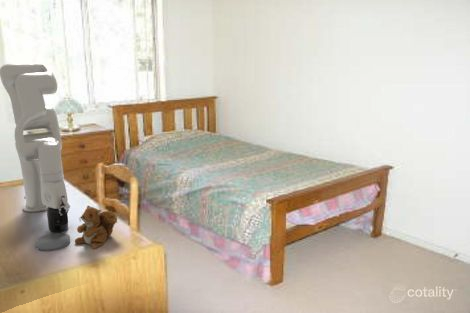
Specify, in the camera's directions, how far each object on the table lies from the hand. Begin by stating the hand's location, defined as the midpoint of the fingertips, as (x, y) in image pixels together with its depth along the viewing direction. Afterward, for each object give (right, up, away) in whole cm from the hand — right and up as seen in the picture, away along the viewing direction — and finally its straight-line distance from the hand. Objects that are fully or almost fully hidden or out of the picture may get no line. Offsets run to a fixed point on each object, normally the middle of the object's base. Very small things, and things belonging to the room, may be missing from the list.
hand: (58, 221), depth 159 cm
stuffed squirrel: (+18, -5, -8) cm, 20 cm away
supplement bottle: (0, -3, +1) cm, 3 cm away
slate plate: (+3, -6, -10) cm, 12 cm away
